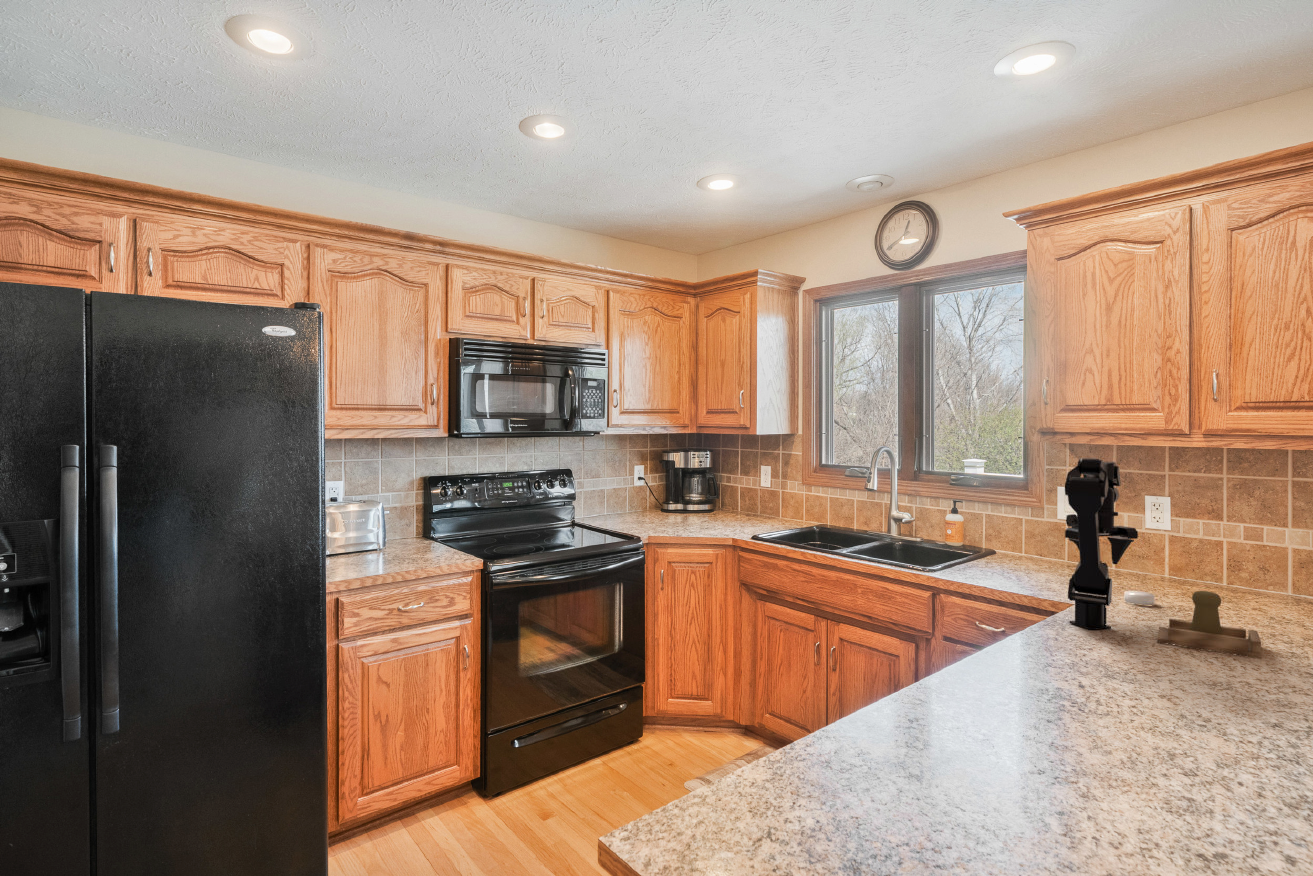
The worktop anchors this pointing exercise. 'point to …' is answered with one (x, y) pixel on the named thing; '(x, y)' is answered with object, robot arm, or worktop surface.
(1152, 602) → the white rounded cylinder
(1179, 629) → the rack
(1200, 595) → the cork
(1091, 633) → the worktop surface
